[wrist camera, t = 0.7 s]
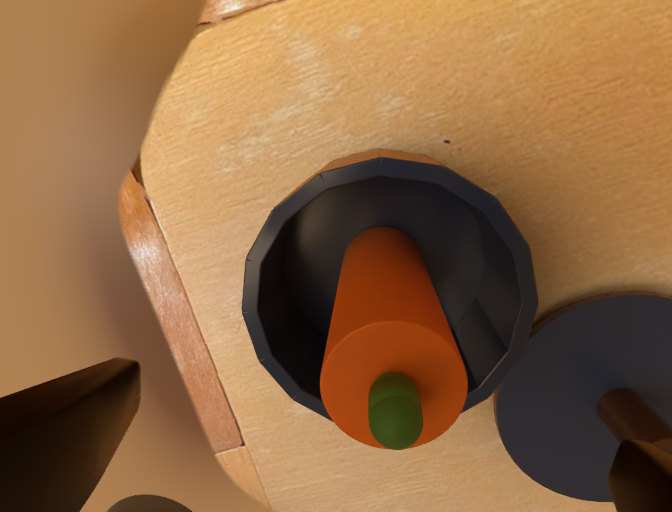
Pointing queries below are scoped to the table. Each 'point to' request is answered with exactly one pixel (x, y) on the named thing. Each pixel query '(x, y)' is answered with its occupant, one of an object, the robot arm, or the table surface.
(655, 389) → the lid
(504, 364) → the pot
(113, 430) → the robot arm
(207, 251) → the table surface
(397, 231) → the carrot
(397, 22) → the table surface
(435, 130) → the table surface
